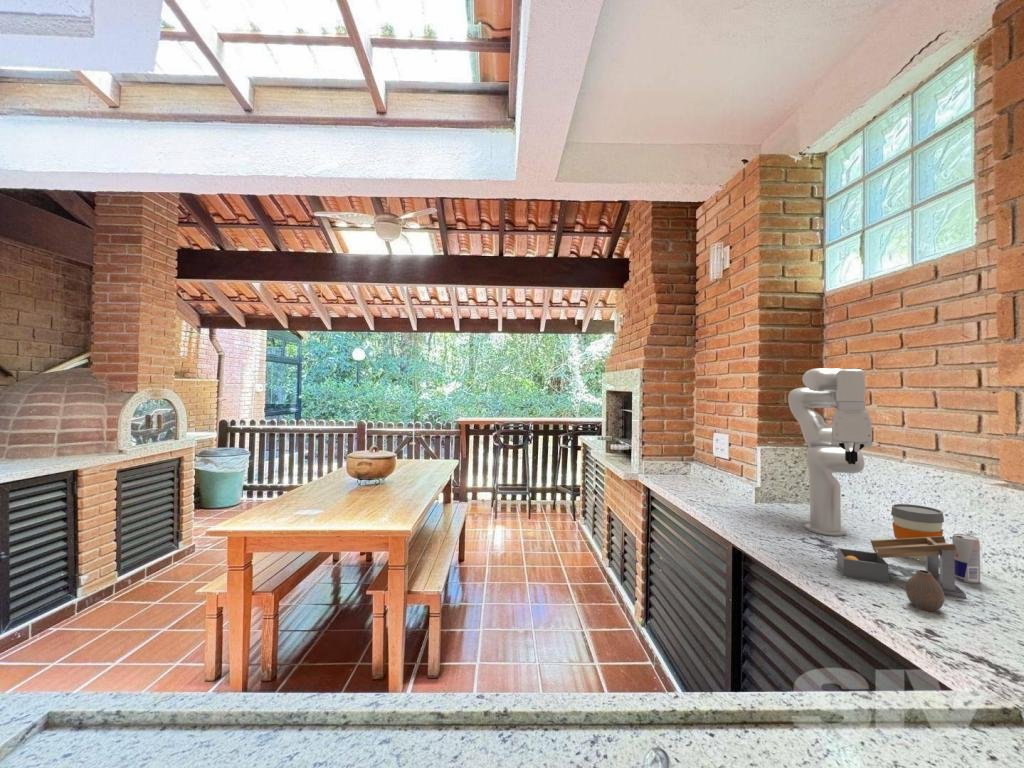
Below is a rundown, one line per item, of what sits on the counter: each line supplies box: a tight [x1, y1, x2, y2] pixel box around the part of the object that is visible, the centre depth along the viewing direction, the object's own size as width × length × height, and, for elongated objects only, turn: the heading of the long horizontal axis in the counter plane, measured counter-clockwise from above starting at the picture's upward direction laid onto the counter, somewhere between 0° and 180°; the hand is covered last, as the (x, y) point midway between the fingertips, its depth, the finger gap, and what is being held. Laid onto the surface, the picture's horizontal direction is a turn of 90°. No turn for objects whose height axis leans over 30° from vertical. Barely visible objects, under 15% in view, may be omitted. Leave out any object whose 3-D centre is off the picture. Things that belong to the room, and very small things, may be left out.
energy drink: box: [951, 533, 981, 585], centre depth 125 cm, size 5×5×12 cm
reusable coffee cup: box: [890, 503, 945, 561], centre depth 143 cm, size 13×12×15 cm
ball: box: [845, 556, 858, 560], centre depth 130 cm, size 4×4×4 cm
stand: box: [915, 549, 967, 599], centre depth 121 cm, size 14×6×11 cm, turn 153°
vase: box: [905, 569, 945, 612], centre depth 109 cm, size 7×7×9 cm
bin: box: [836, 547, 889, 584], centre depth 129 cm, size 10×10×5 cm
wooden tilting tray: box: [870, 535, 957, 559], centre depth 127 cm, size 15×16×3 cm
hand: (851, 463), depth 145 cm, fingers closed
